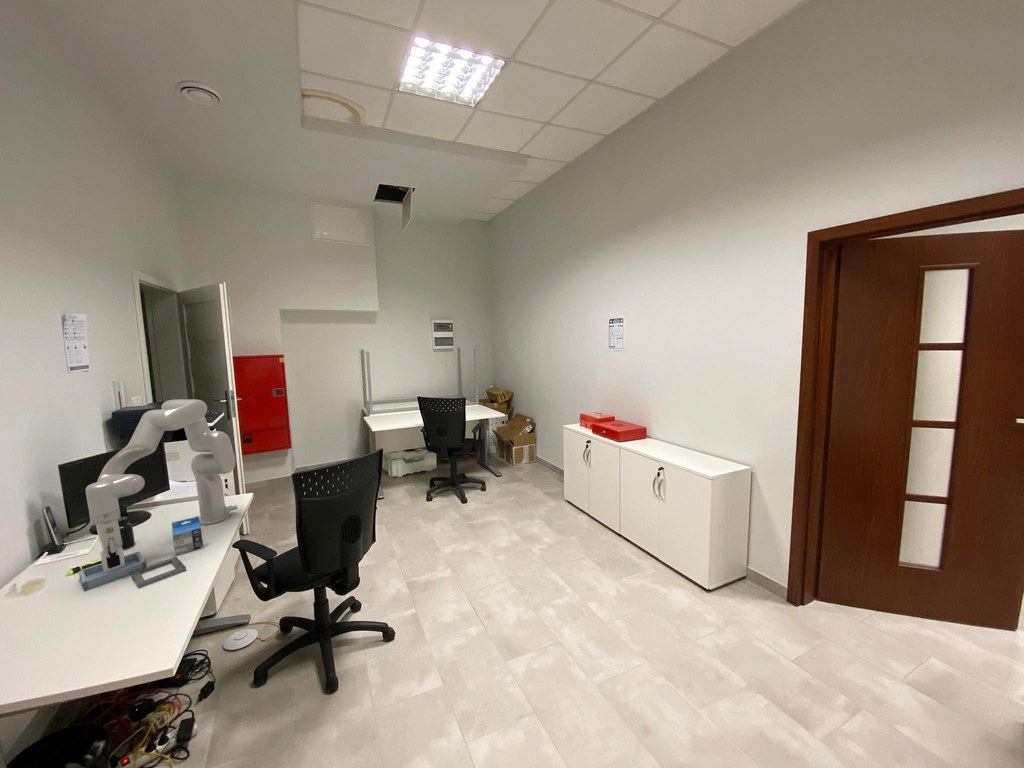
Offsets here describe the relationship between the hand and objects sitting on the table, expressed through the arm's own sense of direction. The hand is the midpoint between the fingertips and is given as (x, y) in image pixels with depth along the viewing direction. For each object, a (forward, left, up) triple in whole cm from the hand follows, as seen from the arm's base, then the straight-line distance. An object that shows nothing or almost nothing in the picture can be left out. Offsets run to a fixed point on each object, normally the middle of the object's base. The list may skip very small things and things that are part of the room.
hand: (113, 564), depth 147 cm
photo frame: (+8, -39, -4) cm, 40 cm away
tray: (0, 0, -4) cm, 4 cm away
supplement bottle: (-6, -24, -4) cm, 25 cm away
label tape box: (-21, +2, -4) cm, 22 cm away
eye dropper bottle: (0, 0, -2) cm, 2 cm away
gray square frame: (-10, +13, -4) cm, 17 cm away
